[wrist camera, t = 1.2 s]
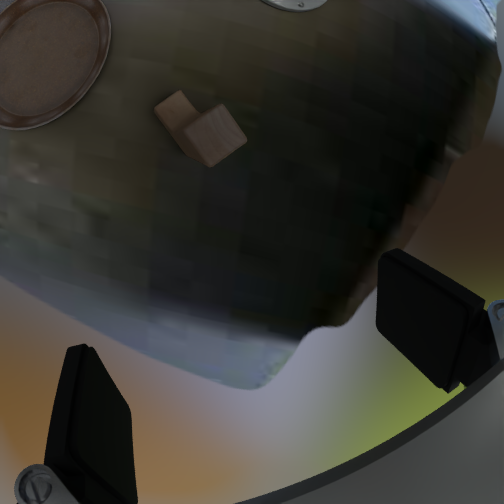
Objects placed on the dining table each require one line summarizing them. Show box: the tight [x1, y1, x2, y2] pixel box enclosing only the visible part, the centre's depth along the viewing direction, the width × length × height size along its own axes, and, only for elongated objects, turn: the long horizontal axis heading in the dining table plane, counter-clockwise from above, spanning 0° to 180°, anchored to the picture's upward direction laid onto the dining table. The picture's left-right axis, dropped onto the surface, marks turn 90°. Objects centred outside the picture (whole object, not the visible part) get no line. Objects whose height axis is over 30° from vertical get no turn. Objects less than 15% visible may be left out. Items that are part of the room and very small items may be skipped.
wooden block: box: [154, 90, 247, 167], centre depth 26 cm, size 7×3×15 cm, turn 34°
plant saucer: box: [0, 0, 111, 130], centre depth 23 cm, size 18×18×3 cm
